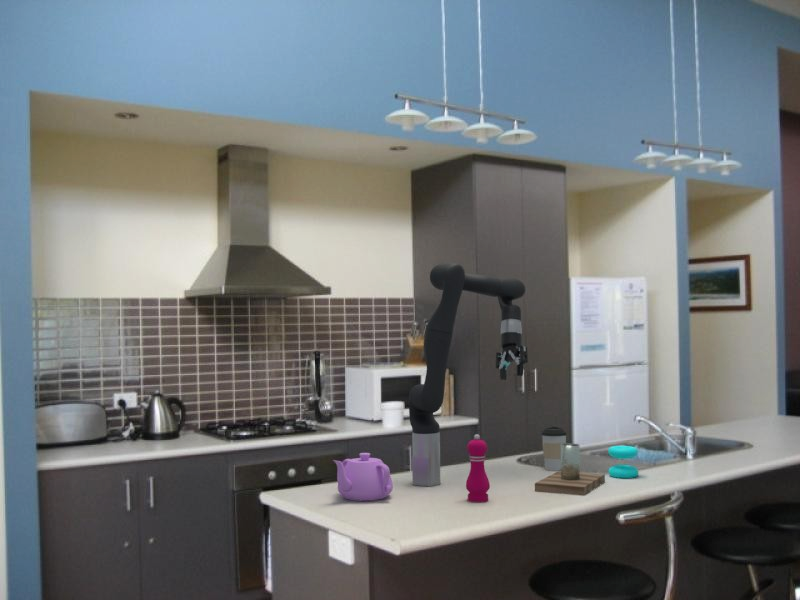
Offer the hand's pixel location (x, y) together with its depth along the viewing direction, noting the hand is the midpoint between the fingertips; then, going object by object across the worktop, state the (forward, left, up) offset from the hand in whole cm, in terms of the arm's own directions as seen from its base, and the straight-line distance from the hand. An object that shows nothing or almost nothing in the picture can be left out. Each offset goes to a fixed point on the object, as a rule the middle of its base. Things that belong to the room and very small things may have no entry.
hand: (511, 377), depth 304 cm
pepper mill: (-45, -6, -34) cm, 56 cm away
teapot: (-58, +28, -34) cm, 73 cm away
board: (-13, -25, -34) cm, 44 cm away
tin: (-12, -25, -31) cm, 42 cm away
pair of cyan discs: (+12, -36, -34) cm, 51 cm away
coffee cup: (+16, -10, -34) cm, 39 cm away
